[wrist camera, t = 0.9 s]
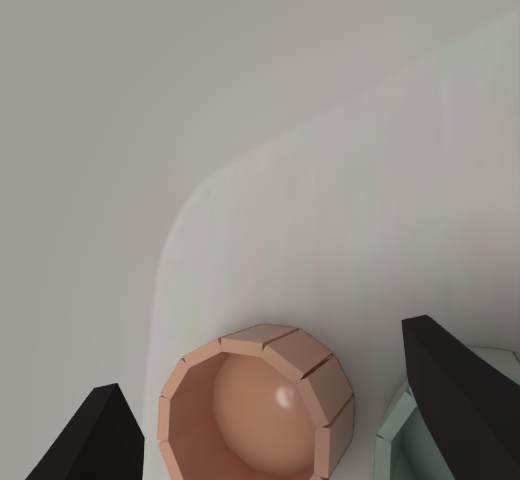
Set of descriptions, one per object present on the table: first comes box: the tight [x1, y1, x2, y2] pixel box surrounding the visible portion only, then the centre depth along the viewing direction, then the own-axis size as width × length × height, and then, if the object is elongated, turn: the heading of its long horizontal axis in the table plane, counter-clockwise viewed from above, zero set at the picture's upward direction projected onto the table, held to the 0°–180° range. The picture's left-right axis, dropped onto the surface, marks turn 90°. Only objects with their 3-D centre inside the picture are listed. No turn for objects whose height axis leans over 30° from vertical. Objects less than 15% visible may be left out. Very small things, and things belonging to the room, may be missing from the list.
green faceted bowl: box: [374, 346, 520, 480], centre depth 19 cm, size 8×8×5 cm
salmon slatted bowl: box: [157, 324, 354, 480], centre depth 23 cm, size 8×8×5 cm
